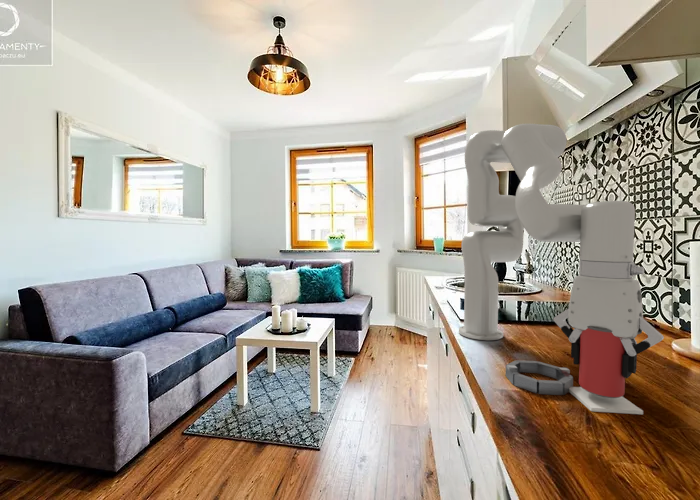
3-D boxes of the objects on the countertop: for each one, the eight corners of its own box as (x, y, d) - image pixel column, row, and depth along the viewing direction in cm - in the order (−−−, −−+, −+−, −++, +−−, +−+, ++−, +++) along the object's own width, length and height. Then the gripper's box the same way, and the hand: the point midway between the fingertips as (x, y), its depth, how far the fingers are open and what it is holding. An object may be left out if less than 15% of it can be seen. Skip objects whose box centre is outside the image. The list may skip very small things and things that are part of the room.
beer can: (601, 381, 62) (603, 320, 62) (634, 398, 56) (637, 330, 55) (570, 383, 62) (571, 321, 61) (600, 401, 55) (602, 331, 55)
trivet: (566, 389, 63) (566, 386, 63) (611, 391, 62) (611, 388, 62) (591, 411, 55) (591, 407, 55) (643, 414, 54) (643, 410, 54)
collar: (499, 369, 73) (499, 356, 73) (554, 371, 71) (554, 358, 71) (518, 392, 62) (518, 377, 62) (584, 396, 60) (584, 381, 60)
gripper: (676, 273, 53) (672, 380, 54) (558, 266, 67) (556, 351, 68) (668, 277, 49) (663, 393, 49) (543, 268, 62) (541, 359, 63)
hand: (601, 368), depth 59 cm, fingers closed on beer can, 6 cm apart
